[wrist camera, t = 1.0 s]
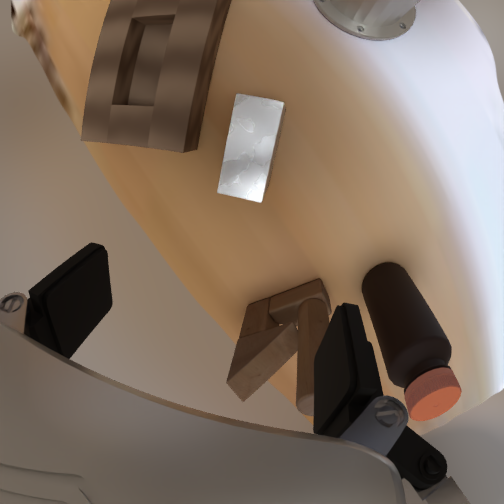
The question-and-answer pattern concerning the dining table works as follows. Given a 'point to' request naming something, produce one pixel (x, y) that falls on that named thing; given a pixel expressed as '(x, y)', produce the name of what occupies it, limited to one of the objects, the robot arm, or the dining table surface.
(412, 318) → the bottle
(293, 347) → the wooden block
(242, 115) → the grey bar
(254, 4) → the dining table surface
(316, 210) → the dining table surface
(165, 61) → the post base
